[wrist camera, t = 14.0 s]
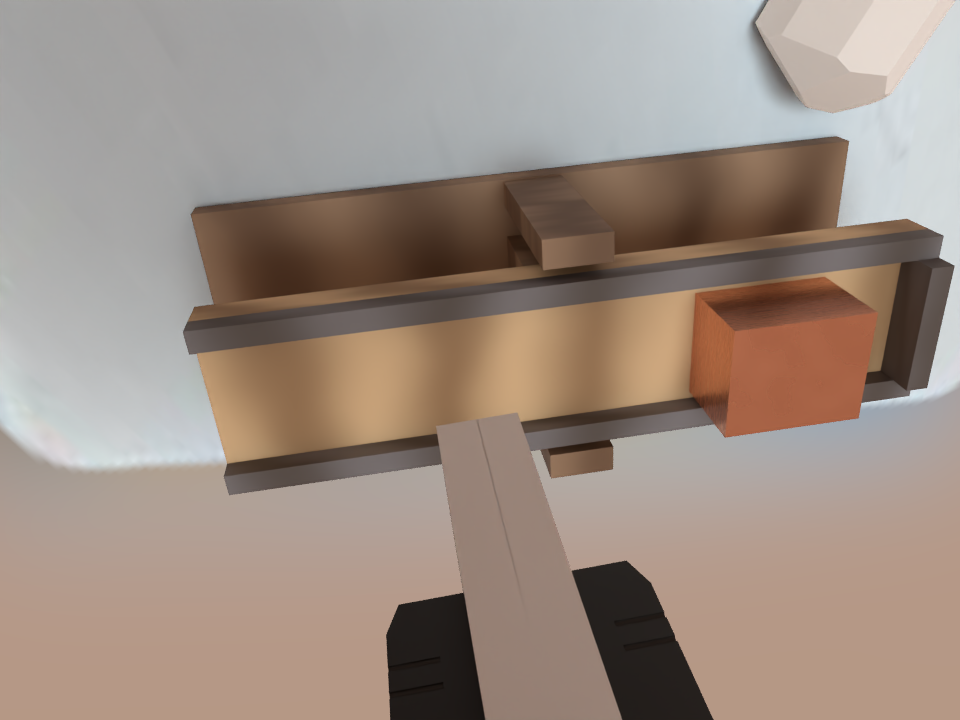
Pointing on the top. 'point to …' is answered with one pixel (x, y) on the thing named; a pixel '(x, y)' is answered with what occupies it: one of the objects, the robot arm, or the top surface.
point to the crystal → (847, 46)
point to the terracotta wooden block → (780, 355)
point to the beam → (526, 350)
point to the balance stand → (520, 226)
